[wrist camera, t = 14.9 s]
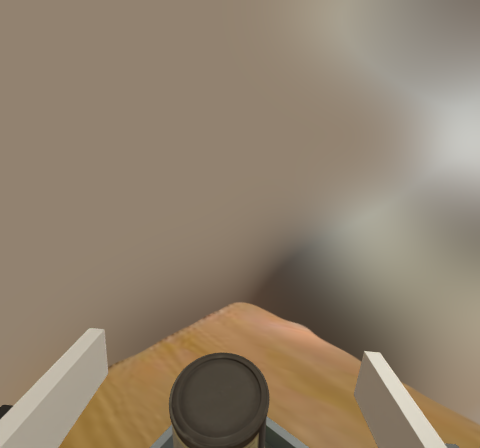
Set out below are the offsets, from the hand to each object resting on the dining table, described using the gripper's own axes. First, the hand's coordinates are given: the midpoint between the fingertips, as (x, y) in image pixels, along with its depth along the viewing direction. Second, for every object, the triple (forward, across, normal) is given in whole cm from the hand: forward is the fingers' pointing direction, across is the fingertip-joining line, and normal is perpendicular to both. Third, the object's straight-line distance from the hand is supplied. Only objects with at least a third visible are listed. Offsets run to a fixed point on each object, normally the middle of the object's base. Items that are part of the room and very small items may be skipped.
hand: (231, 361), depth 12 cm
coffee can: (+10, 0, -28) cm, 29 cm away
